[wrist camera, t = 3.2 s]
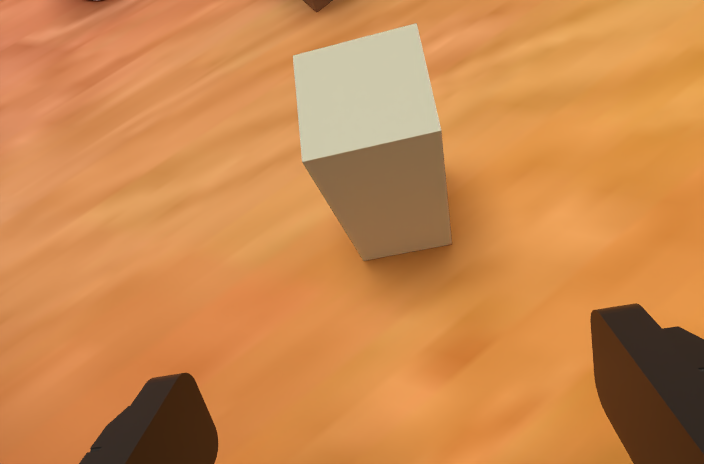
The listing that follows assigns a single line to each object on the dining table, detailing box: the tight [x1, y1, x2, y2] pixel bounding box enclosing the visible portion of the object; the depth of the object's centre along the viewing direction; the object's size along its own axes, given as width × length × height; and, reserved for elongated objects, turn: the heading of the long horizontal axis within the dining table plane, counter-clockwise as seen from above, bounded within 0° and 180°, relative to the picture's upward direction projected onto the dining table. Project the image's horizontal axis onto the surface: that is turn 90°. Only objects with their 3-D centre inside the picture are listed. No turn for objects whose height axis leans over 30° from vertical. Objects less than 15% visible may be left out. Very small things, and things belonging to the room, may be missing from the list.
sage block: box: [293, 23, 452, 261], centre depth 21 cm, size 4×4×10 cm
